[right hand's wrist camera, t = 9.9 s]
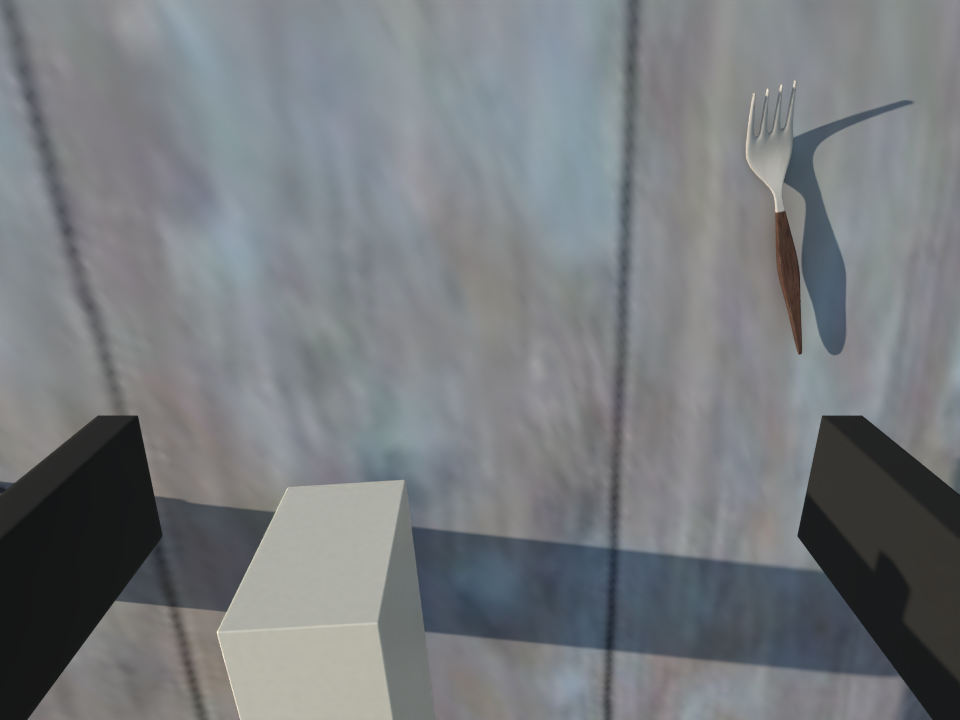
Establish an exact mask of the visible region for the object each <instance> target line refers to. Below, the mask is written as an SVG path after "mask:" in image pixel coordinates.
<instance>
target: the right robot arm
mask: <svg viewBox="0 0 960 720" xmlns="http://www.w3.org/2000/svg"><path fill="white" fill-rule="evenodd" d="M161 538H162V531H161V526H160V521H159V516H158V512H157V507H156V502H155V497H154V492H153V487H152V482H151V477H150V473H149V468H148V463H147V458H146V453H145V448H144V443H143V439H142V434H141V429H140V424H139V419H138V416H97V417H96V418H94V419H93V420H92V421H91V422H89V423H88V424H87V425H86V426H85V427H83V428H82V429H81V430H80V431H78V432H77V433H76V434H75V435H73V436H72V437H71V438H70V439H69V440H67V441H66V442H65V443H64V444H62V445H61V446H60V447H59V448H57V449H56V450H55V451H54V452H53V453H51V454H50V455H49V456H48V457H46V458H45V459H44V460H43V461H41V462H40V463H39V464H38V465H36V466H35V467H34V468H33V469H32V470H30V471H29V472H28V473H27V474H25V475H24V476H23V477H22V478H20V479H19V480H18V481H17V482H16V483H14V484H13V485H12V486H11V487H9V488H8V489H7V490H6V491H4V492H3V493H2V494H1V495H0V720H27V719H28V718H29V717H30V715H31V714H32V713H33V711H34V710H35V709H36V707H37V706H38V704H39V703H40V702H41V700H42V699H43V698H44V696H45V695H46V694H47V692H48V691H49V690H50V688H51V687H52V685H53V684H54V683H55V681H56V680H57V679H58V677H59V676H60V675H61V673H62V672H63V671H64V669H65V668H66V666H67V665H68V664H69V662H70V661H71V660H72V658H73V657H74V656H75V654H76V653H77V652H78V650H79V649H80V647H81V646H82V645H83V643H84V642H85V641H86V639H87V638H88V637H89V635H90V634H91V633H92V631H93V630H94V628H95V627H96V626H97V624H98V623H99V622H100V620H101V619H102V618H103V616H104V615H105V614H106V612H107V611H108V609H109V608H110V607H111V605H112V604H113V603H114V601H115V600H116V599H117V597H118V596H119V595H120V593H121V592H122V590H123V589H124V588H125V586H126V585H127V584H128V582H129V581H130V580H131V578H132V577H133V576H134V574H135V573H136V571H137V570H138V569H139V567H140V566H141V565H142V563H143V562H144V561H145V559H146V558H147V557H148V555H149V554H150V552H151V551H152V550H153V548H154V547H155V546H156V544H157V543H158V542H159V540H160V539H161ZM798 538H799V539H800V540H801V542H802V543H803V544H804V546H805V547H806V548H807V550H808V551H809V552H810V554H811V555H812V557H813V558H814V559H815V561H816V562H817V563H818V565H819V566H820V567H821V569H822V570H823V571H824V573H825V574H826V576H827V577H828V578H829V580H830V581H831V582H832V584H833V585H834V586H835V588H836V589H837V590H838V592H839V593H840V595H841V596H842V597H843V599H844V600H845V601H846V603H847V604H848V605H849V607H850V608H851V609H852V611H853V612H854V614H855V615H856V616H857V618H858V619H859V620H860V622H861V623H862V624H863V626H864V627H865V628H866V630H867V631H868V633H869V634H870V635H871V637H872V638H873V639H874V641H875V642H876V643H877V645H878V646H879V647H880V649H881V650H882V652H883V653H884V654H885V656H886V657H887V658H888V660H889V661H890V662H891V664H892V665H893V666H894V668H895V669H896V671H897V672H898V673H899V675H900V676H901V677H902V679H903V680H904V681H905V683H906V684H907V685H908V687H909V688H910V690H911V691H912V692H913V694H914V695H915V696H916V698H917V699H918V700H919V702H920V703H921V704H922V706H923V707H924V709H925V710H926V711H927V713H928V714H929V715H930V717H931V718H932V719H933V720H960V495H959V494H958V493H957V492H956V491H954V490H953V489H952V488H951V487H949V486H948V485H947V484H946V483H944V482H943V481H942V480H941V479H940V478H938V477H937V476H936V475H935V474H933V473H932V472H931V471H930V470H928V469H927V468H926V467H925V466H924V465H922V464H921V463H920V462H919V461H917V460H916V459H915V458H914V457H912V456H911V455H910V454H909V453H907V452H906V451H905V450H904V449H903V448H901V447H900V446H899V445H898V444H896V443H895V442H894V441H893V440H891V439H890V438H889V437H888V436H887V435H885V434H884V433H883V432H882V431H880V430H879V429H878V428H877V427H875V426H874V425H873V424H872V423H871V422H869V421H868V420H867V419H866V418H864V417H863V416H822V419H821V424H820V429H819V434H818V439H817V443H816V448H815V453H814V458H813V463H812V468H811V473H810V477H809V482H808V487H807V492H806V497H805V502H804V507H803V512H802V516H801V521H800V526H799V531H798Z"/></svg>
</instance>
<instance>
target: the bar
mask: <svg viewBox="0 0 960 720" xmlns="http://www.w3.org/2000/svg"><path fill="white" fill-rule="evenodd" d="M217 635H218V639H219V643H220V646H221V650H222V654H223V657H224V661H225V665H226V669H227V672H228V676H229V680H230V683H231V687H232V691H233V694H234V698H235V702H236V705H237V709H238V713H239V716H240V720H436V718H435V710H434V702H433V694H432V686H431V678H430V670H429V662H428V654H427V646H426V638H425V630H424V623H423V615H422V607H421V599H420V591H419V583H418V575H417V567H416V559H415V551H414V543H413V535H412V527H411V519H410V511H409V504H408V496H407V488H406V481H405V480H394V481H378V482H362V483H347V484H331V485H315V486H299V487H288V488H287V490H286V492H285V494H284V496H283V498H282V500H281V502H280V504H279V506H278V508H277V510H276V512H275V515H274V517H273V519H272V521H271V523H270V525H269V527H268V529H267V531H266V533H265V535H264V537H263V539H262V541H261V543H260V545H259V547H258V549H257V551H256V553H255V555H254V557H253V560H252V562H251V564H250V566H249V568H248V570H247V572H246V574H245V576H244V578H243V580H242V582H241V584H240V586H239V588H238V590H237V592H236V594H235V596H234V598H233V600H232V602H231V605H230V607H229V609H228V611H227V613H226V615H225V617H224V619H223V621H222V623H221V625H220V627H219V629H218V631H217Z"/></svg>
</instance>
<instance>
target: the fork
mask: <svg viewBox="0 0 960 720" xmlns="http://www.w3.org/2000/svg"><path fill="white" fill-rule="evenodd" d="M796 84H797V81H796V80H795V81H794V84H793V89H792V93H791V98H790V103H789V108H788V114H787V120H786V124H785V127H784V128H783V129H781V128H780V113H781V99H782V88H783V86H782V85H781V86H780V90H779V95H778V100H777V105H776V111H775V117H774V123H773V128H772V131H771V132H770V133H768V132H767V113H768V95H769V90H768V89H767V91H766V96H765V102H764V107H763V114H762V120H761V127H760V132H759V135H758V136H757V137H755V135H754V109H755V96H756V94H755V93H753V97H752V103H751V110H750V116H749V123H748V132H747V142H746V158H747V161H748V164H749V166H750V167H751V169H752V170H753V171H754V173H755V174H756V175H757V176H758V177H759V178H760V179H761V180H762V181H763V182H764V183H765V184H766V185H767V186H768V187H769V188H770V189H771V191H772V193H773V195H774V199H775V215H776V259H777V269H778V275H779V280H780V284H781V288H782V291H783V295H784V298H785V302H786V306H787V310H788V314H789V318H790V322H791V327H792V331H793V336H794V340H795V344H796V348H797V351H798V354H802V331H801V307H800V273H799V265H798V260H797V255H796V251H795V247H794V243H793V239H792V235H791V231H790V228H789V224H788V220H787V216H786V212H785V208H784V204H783V199H782V187H783V182H784V178H785V175H786V172H787V169H788V165H789V162H790V158H791V154H792V148H793V112H794V100H795V90H796Z"/></svg>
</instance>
